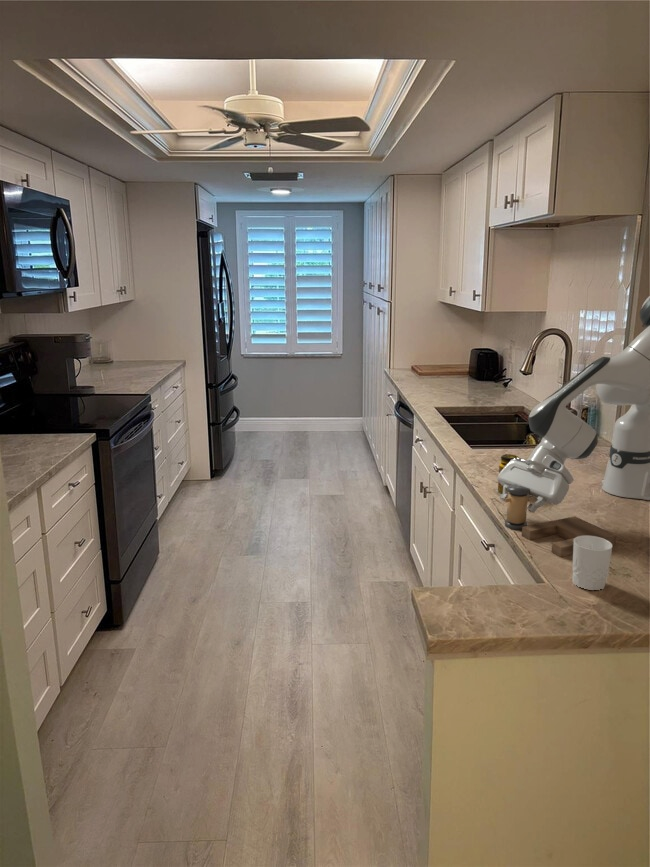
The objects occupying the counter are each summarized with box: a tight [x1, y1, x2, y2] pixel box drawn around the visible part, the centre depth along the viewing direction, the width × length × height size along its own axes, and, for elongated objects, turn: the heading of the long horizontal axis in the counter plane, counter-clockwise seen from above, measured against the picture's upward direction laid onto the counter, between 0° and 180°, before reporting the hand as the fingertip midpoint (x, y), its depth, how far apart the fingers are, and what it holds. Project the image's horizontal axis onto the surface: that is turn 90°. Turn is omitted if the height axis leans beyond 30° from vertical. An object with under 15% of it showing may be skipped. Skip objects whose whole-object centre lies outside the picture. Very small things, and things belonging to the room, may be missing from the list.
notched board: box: [521, 515, 617, 558], centre depth 162 cm, size 18×14×2 cm
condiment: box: [493, 453, 519, 496], centre depth 196 cm, size 7×8×12 cm
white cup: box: [571, 536, 614, 591], centre depth 138 cm, size 8×8×10 cm
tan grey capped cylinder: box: [504, 484, 530, 531], centre depth 170 cm, size 7×6×11 cm
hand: (516, 505), depth 170 cm, fingers open, 8 cm apart
